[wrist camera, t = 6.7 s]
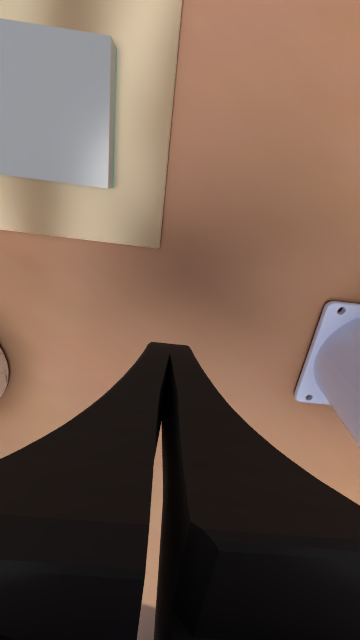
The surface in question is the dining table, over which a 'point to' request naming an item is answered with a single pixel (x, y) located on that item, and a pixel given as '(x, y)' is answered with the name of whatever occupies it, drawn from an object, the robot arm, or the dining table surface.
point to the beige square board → (130, 126)
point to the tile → (57, 104)
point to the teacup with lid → (3, 373)
